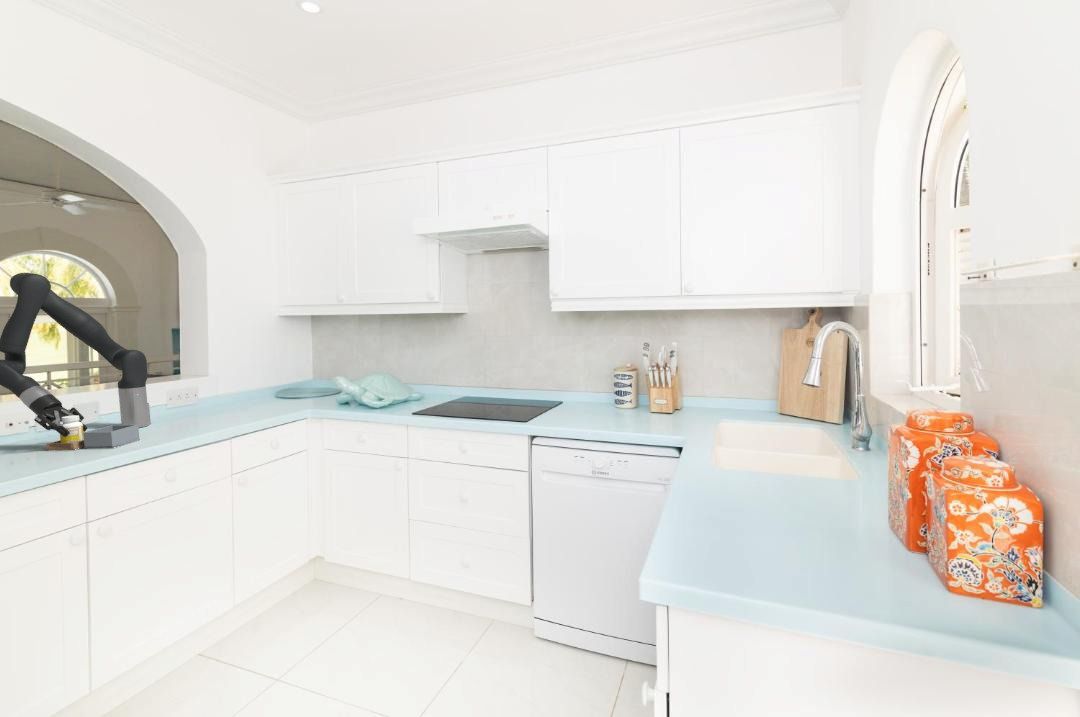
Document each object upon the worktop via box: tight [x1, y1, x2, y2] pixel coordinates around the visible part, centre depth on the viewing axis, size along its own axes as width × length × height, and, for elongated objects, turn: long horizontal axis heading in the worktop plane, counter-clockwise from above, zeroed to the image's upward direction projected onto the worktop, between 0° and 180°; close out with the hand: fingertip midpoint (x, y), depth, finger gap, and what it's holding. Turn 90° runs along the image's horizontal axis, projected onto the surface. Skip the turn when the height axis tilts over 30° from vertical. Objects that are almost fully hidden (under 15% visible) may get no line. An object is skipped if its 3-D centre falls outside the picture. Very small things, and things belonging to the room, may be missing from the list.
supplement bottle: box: [59, 415, 84, 443], centre depth 180 cm, size 6×6×11 cm
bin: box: [83, 424, 140, 449], centre depth 184 cm, size 12×10×6 cm
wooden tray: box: [46, 440, 85, 451], centre depth 181 cm, size 10×10×2 cm
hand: (76, 432), depth 181 cm, fingers closed on supplement bottle, 6 cm apart
